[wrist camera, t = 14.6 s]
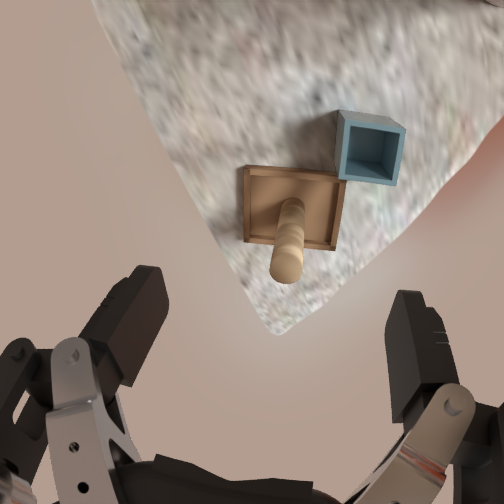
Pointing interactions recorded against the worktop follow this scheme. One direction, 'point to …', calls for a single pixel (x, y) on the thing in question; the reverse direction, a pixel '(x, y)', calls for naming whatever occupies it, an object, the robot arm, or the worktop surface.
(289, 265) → the dowel
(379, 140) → the blue open box
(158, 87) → the worktop surface
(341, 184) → the tray
